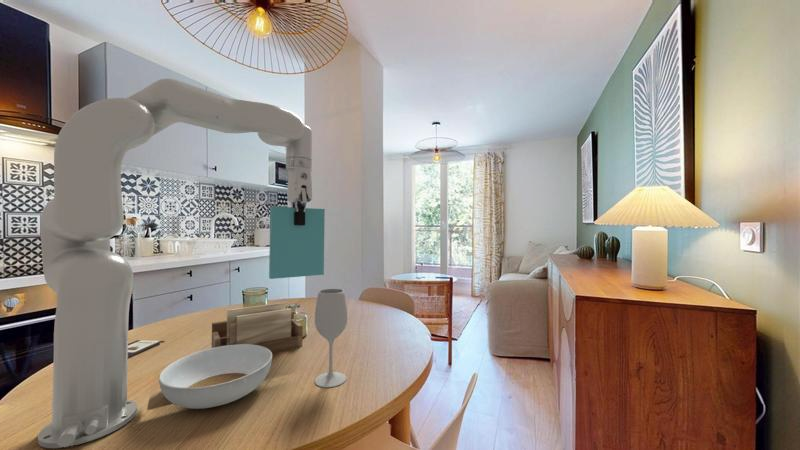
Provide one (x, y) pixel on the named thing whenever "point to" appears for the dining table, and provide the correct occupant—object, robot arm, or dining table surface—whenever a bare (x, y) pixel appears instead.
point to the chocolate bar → (141, 347)
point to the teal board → (296, 243)
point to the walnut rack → (276, 345)
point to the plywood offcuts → (258, 324)
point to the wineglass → (330, 329)
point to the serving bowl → (211, 364)
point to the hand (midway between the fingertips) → (298, 224)
